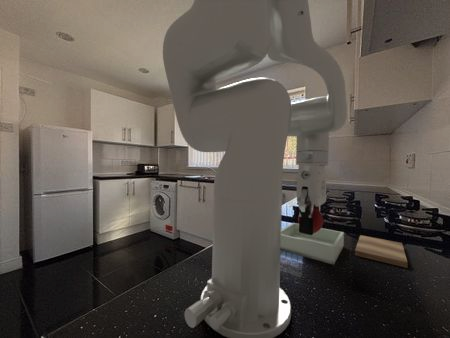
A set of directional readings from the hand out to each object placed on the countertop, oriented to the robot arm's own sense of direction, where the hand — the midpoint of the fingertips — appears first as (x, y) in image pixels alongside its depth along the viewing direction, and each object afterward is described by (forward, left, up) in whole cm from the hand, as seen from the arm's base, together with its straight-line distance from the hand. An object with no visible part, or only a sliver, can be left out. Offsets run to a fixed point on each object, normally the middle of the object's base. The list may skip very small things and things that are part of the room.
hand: (309, 229), depth 50 cm
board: (+9, -14, -4) cm, 17 cm away
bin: (0, 0, -4) cm, 4 cm away
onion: (0, 0, -1) cm, 1 cm away
